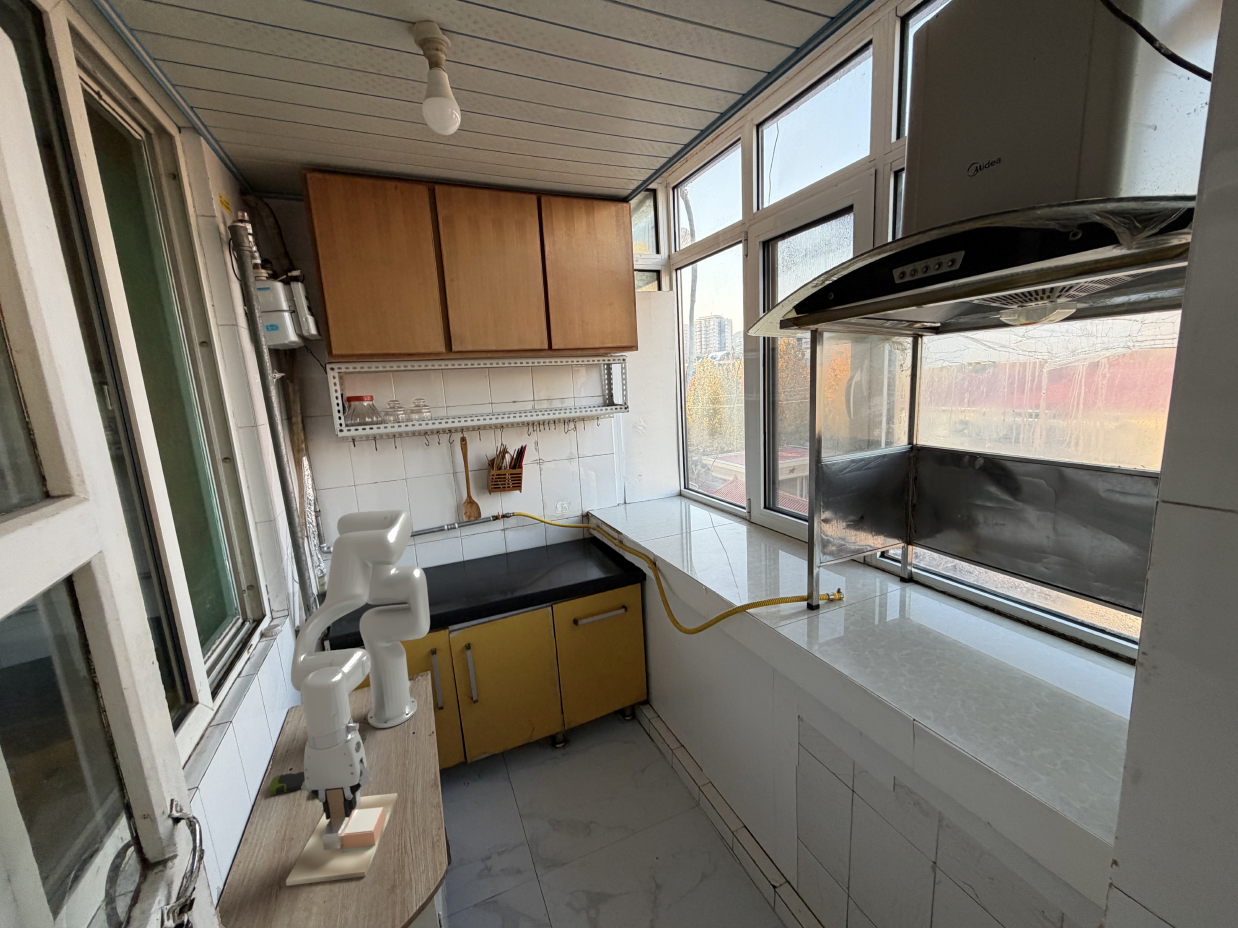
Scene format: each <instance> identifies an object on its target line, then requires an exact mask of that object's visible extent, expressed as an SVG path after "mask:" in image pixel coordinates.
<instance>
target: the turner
mask: <svg viewBox="0 0 1238 928" xmlns="http://www.w3.org/2000/svg"><path fill="white" fill-rule="evenodd" d="M360 792H361V791H360V790H358V791H357V792H356V800H357V805H356V808H355V809H354V810H356V809H359V808H360V806H361V798H360V797H361V793H360ZM326 793H327V800H328V804H329V811H330V818H331V819H330V820H329V822H328V824H327V826H326V828H325V830H324V831H323V833H322V840H323V847H324V850H330V849H339V848H341V846H342V844H343V840H342V835H343V833H344V831H345V828H346V826H347V824H348V822H349V820H350V818H351V816H352V814H353V812H354V810H353V811H352V813H351V815H350V817H348V818H346V817H345V812H344V804H343V801H344V799H345V798H346V797H345V793H344V789H343V787H340V788H331V789H327V790H326Z"/></svg>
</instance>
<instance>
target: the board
mask: <svg viewBox="0 0 1238 928" xmlns="http://www.w3.org/2000/svg"><path fill="white" fill-rule="evenodd" d="M398 796H399V795H398V792H395V793H387V794H384V793H383V794H376V795H375V794H373V795H367V796H365V795H364V796H360V798H361V806H360V808H359V809H365V808H375V807H385V812H386V821H385V823H384V826H383V828H382V830H381V833H380V835H379V838H378V840H377V842H376V845H373V846H364V847H355V848H346V849H344V848H343V844H342V846H341V848H339V849H330V850H324V847H323V840H322V833H323V831H324V830H325V828H326V826H327V824H328V822H329V820H330V819H329V820H326V815H325V813H324V812H323V814H322V816H321V818H320V819H319V822H318V823H317V825H316V827H315V828H314V830H313V832H312V833H311V835H310V837H309V840H308V841H307V842H306V845H305V846H304V848H303V849H302V852H301V853H300V855H299V857H298V859H297V860H296V863H294V865H293V867H292V869H291V871H290V873H289V875H288V876H287V878H286V879H285V885H286V886H287V887H288V886H296V885H302V884H311V883H318V882H322V883H323V882H328V881H337V880H344V879H345V880H346V879H353V878H361V877H367V874H368V871H369V869H370V866H371V863H372V862H373V858H375V857H374V856H375V854H376V852H377V849H378V847H379V844H380V841H381V840H382V837H383V834H384V833H385V829H386V827H387V824H388V822H389V819H390V817H391V815H392V813H393V810H394V808H395V805H396V802H397V800H398V798H399V797H398Z"/></svg>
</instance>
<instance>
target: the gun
mask: <svg viewBox="0 0 1238 928" xmlns="http://www.w3.org/2000/svg"><path fill="white" fill-rule="evenodd" d="M360 737H361V740H362V743H363V745H364V744H365V743H366V740H367V734H361V735H360ZM304 780H305V776H304V770H303V771H299V772H296V773H286V774H285V773H284V774H279V775H277V776H274V777H273V778H272V780H271V782H270V785H269V794H270V796H276V795H278V794H281V793H285V794H286V793H289V792H294V791H297V790H302V789H301V786H302V784H303V782H304ZM311 794H312V793H311ZM311 796H312V797H313V799H315V798H317V799H319V798H318V797H316V796H315V795H313V794H312V795H311Z"/></svg>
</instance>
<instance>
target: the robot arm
mask: <svg viewBox="0 0 1238 928" xmlns="http://www.w3.org/2000/svg"><path fill="white" fill-rule="evenodd" d="M336 524H337V526H336V529H337V532H338V535H339V536H337V538H336V539H335V540H334V542H333V546H332V552H331V557H330V566H329V573H328V574H329V575H328V581H327V586H326V596H325V599H324V601H323V602H322V604H321V605H320V606H319V607H318V608H317V609H316V610H315V611H314V612H313V613H312V614H311V616H309V617H308V619H307V620H306V622H305V623H304V625H303V626H302V627H301V630H300V631H299V633H298V635H297V638H296V640H295V642H294V649H293V653H292V654H293V655H292V662H291V667H290V682H291V685H292V687H293V689H294V690H295V691H297V692H300V694H301V699H302V707H303V714H304V721H305V722H304V723H305V728H306V736H307V741H306V743H305V746H304V755H303V771H304V776H305V780H304V782H303V784H302V786H301V789H300V790H303V791H306V792H308V793H311V794H313V795H315V796H316V797H318V798H317V799H318V802H319V803H321V804H322V810H323V814H324V813H325V815H326V820H329V819H331V818H330V811H329V804H328V800H327V793H326V790H327V789H331V788H340V787H343V789H344V793H345V797H346V798H345V799H344V801H343V804H344V812H345V817H346V818H348V817H350V815H351V813H352V811H353V810H354V809H355V808H356V805H357V800H356V792H357V791H360V789H361V788H363V787H365V786H367V785H368V784H370V782H371V780H372V778H373V775H372V774H371V773H370V771H369V770H368V769H367V765H368V764H367V758H366V751H365V748H364V744H363V743H362V740H361V737H360V736H361V735H360V733H359V731H358V730H359V728H360V723H359V722H353V717H352V716H351V715H352V714H351V707H350V700H349V699H350V698H349V695H350V694H351V693H352V692H353V691H354V690H355V689H356V688H358V687H359V685H360V684H361V683H362V682H364V680H365V679H366V678H367V676H368V675H369V684H370V693H371V701H372V708H371V709H370V710H369V712H368V714H367V721H368V724H369V725H370V726H372V727H373V728H378V729H379V728H380V729H385V728H391V727H395V726H397V725H400V724H402V723H404V722H406V721H408V720H409V719H411V718H412V716H413V715H414V714H415V713H416V711H417V709H418V703H417V700H416V699H415V698H414V697H412V696H411V694H410V686H411V681H410V680H409V674H408V665H407V664H408V663H407V654H406V650H405V647H404V646H403V644H402V642H404V641H411V640H417V639H422V638H424V637H426V636H427V634H428V633H429V631H430V626H431V617H430V616H431V615H430V606H429V605H430V604H429V595H428V584H427V577H426V574H425V572H424V570H423V569H422V567H420V566H417V565H407V566H406V565H405V566H397V565H396V564H398V562H399V561H400V560H401V558H402V556H403V555H404V552H405V550H406V548H407V545H408V543H409V541H410V539H411V536H412V532H413V518H412V516H411V514H410V513H409V512H408V511H406V510H404V509H403V510H402V509H391V510H389V509H388V510H373V511H372V510H371V511H370V510H369V511H357V512H350V513H346V514H344V515H342V516H340V517H339V518H338V520H337V523H336ZM397 603H398V604H397ZM399 603H404V604H399ZM366 604H370V605H385V606H377V607H373V608H369V609H368V610H366V611H365V612H364V613H363V614H362V616H361V617H360V619H359V632H360V635H361V638H362V640H363V644H364V647H365V649H364V648H359V647H355V648H346V649H336V650H324V651H315V650H316V646H317V642H318V640H319V639H320V638H319V637H320V636H321V634H322V633H323V632H324V630H326V629H327V628H328V627H329V626H330V625H331V624H333V622H335V621H337V620H338V619H340V618H342V617H343V616H345V615H347V614H350V613H352V612H354V611H355V610H358V609H360V608H361V607H362V606H365V605H366ZM388 604H392V605H388ZM393 604H394V605H393ZM401 641H402V642H401ZM313 795H312V796H313Z"/></svg>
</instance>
